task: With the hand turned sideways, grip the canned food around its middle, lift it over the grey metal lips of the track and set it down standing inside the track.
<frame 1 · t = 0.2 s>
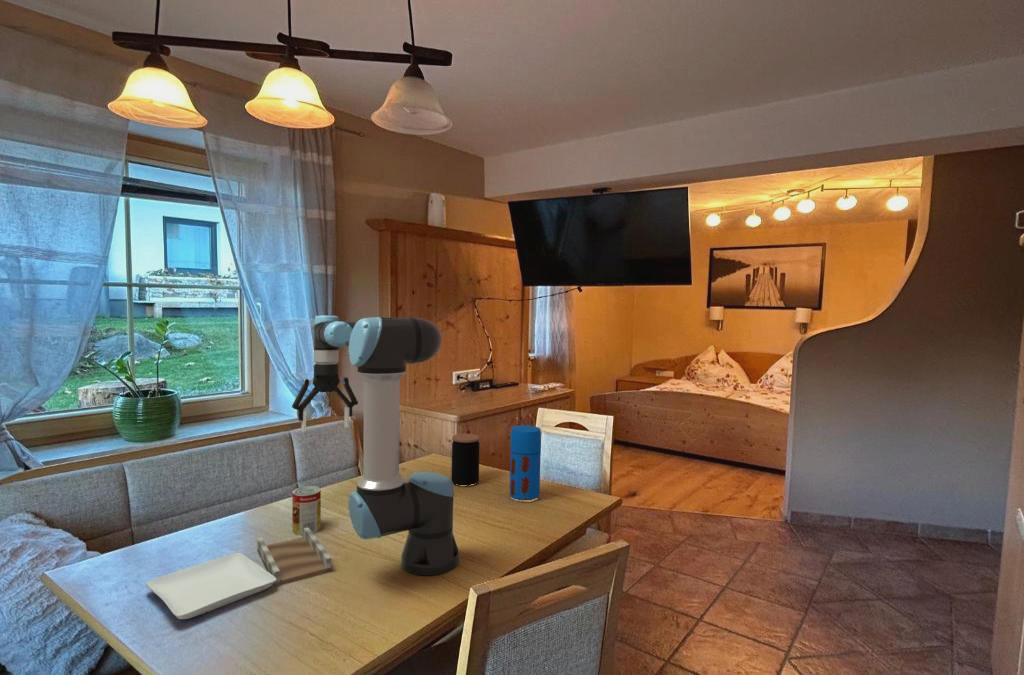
hand: (325, 428, 170), 27 cm above the table, tool pointing down, fingers open, 13 cm apart
salad plate: (212, 594, 122), on the table
coffee jar: (465, 483, 203), on the table
track: (292, 560, 138), on the table
thermos: (524, 498, 189), on the table
canned food: (306, 530, 157), on the table
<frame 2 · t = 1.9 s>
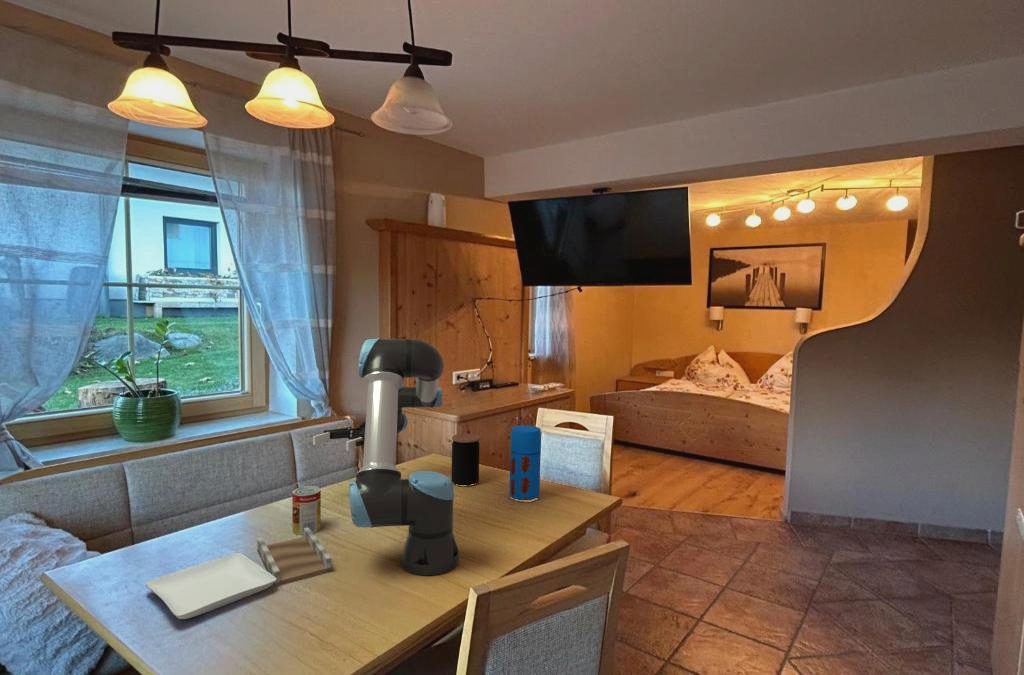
hand: (330, 443, 165), 24 cm above the table, tool horizontal, fingers open, 13 cm apart
nothing on the table moved.
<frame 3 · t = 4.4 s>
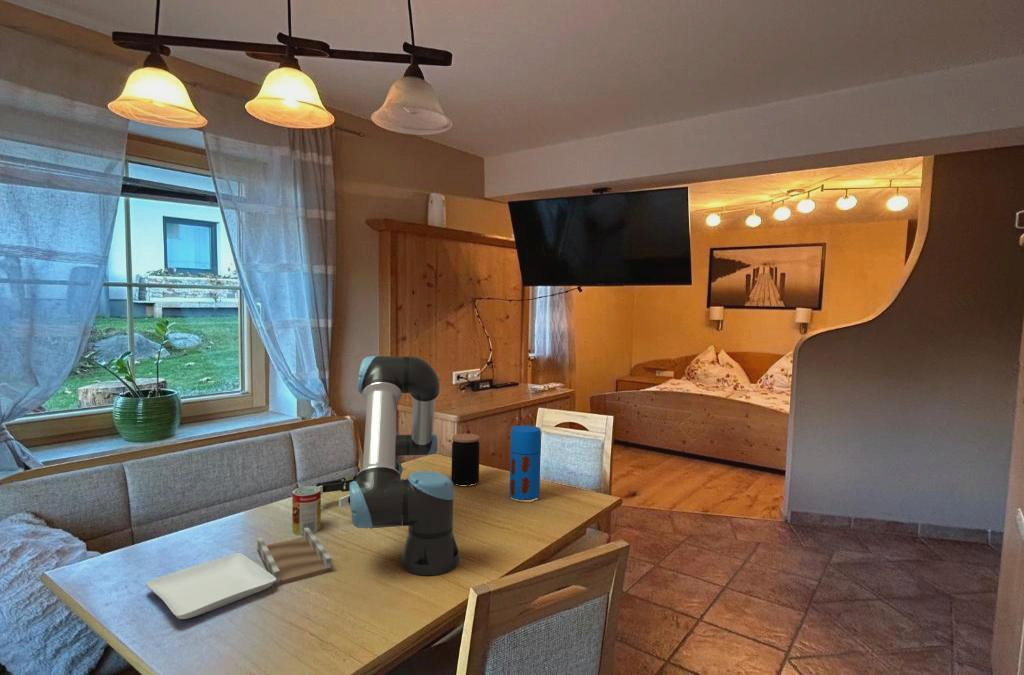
hand: (322, 499, 163), 7 cm above the table, tool horizontal, fingers open, 13 cm apart
nothing on the table moved.
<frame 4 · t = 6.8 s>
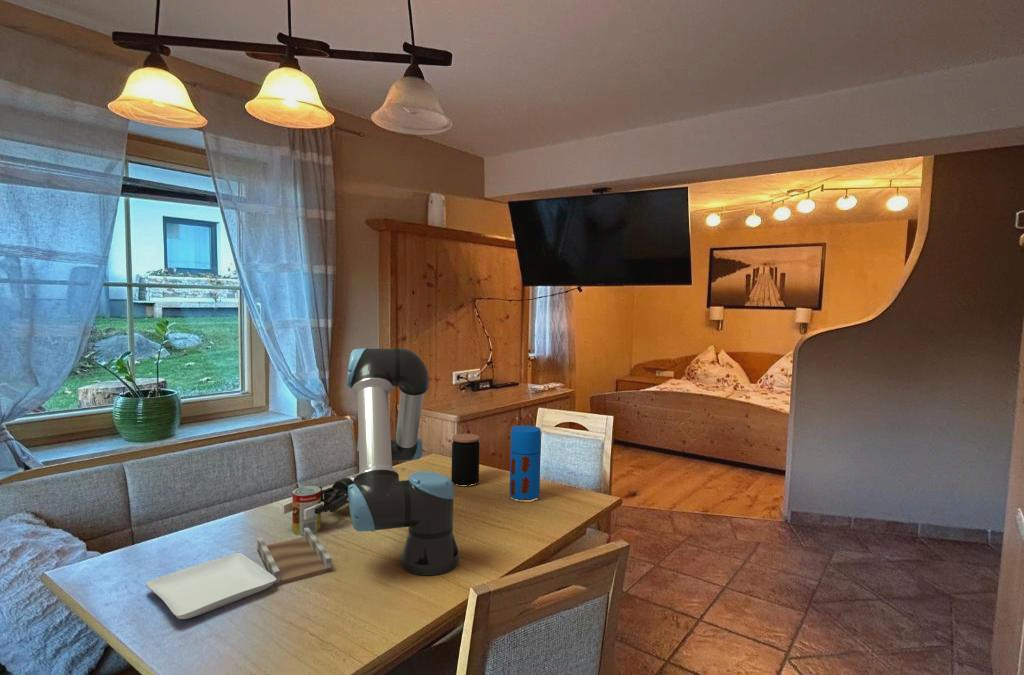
hand: (294, 512, 153), 7 cm above the table, tool horizontal, fingers closed on canned food, 8 cm apart
canned food: (306, 530, 157), on the table, touching gripper
everything else where it was.
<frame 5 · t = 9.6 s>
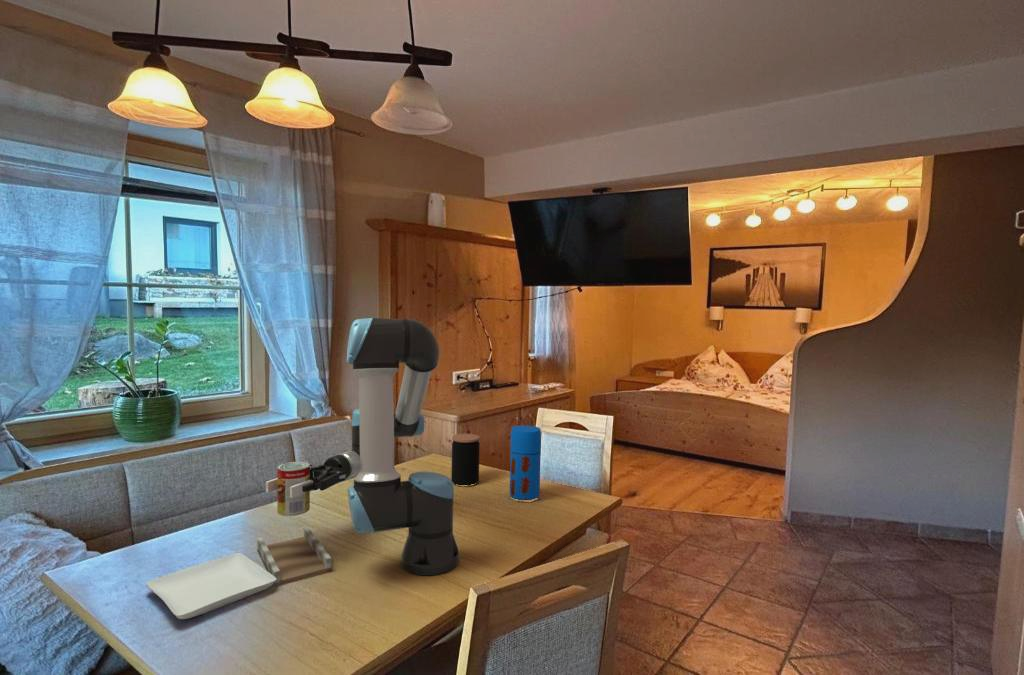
hand: (278, 489, 134), 20 cm above the table, tool horizontal, fingers closed on canned food, 8 cm apart
canned food: (293, 511, 139), point 13 cm above the table, touching gripper
everything else where it was.
when the fingers open (9 cm above the table, at t = 12.3 s): canned food stays where it is, resting on track.
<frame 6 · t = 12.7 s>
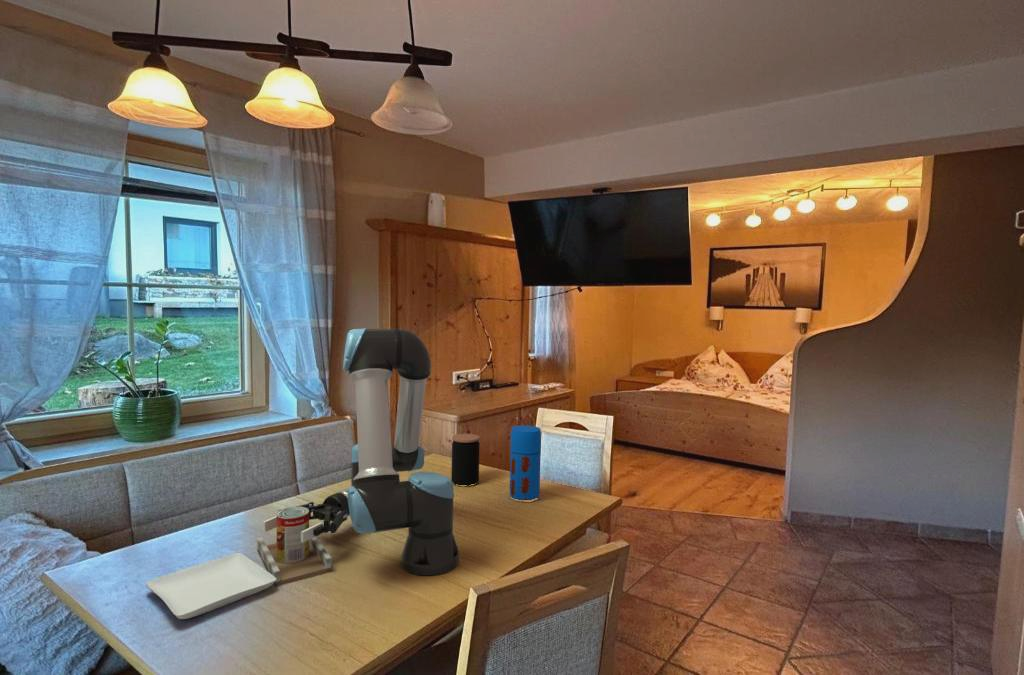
hand: (282, 532, 135), 9 cm above the table, tool horizontal, fingers open, 13 cm apart
canned food: (292, 557, 138), point 1 cm above the table, touching track
everything else where it was.
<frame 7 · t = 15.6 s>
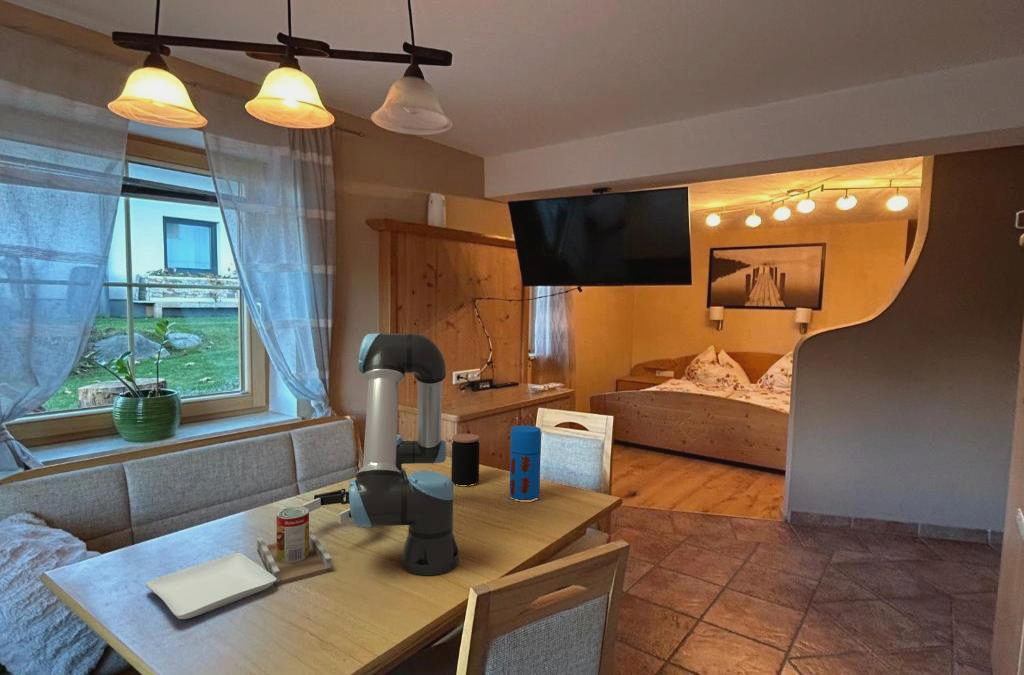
hand: (320, 514, 146), 9 cm above the table, tool horizontal, fingers open, 13 cm apart
nothing on the table moved.
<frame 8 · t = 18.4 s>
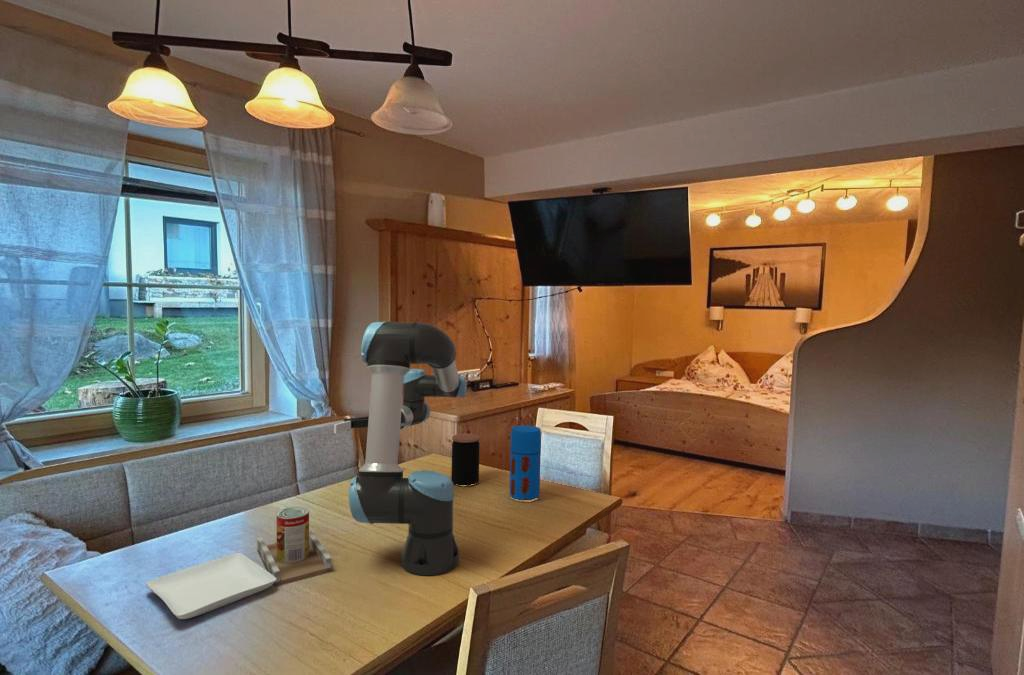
hand: (352, 431, 156), 30 cm above the table, tool horizontal, fingers open, 13 cm apart
nothing on the table moved.
at the end: canned food inside the target area on the track (0.1 cm from its centre), point 0.8 cm above the track's base; canned food tilted 0°; the gripper is holding nothing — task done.
